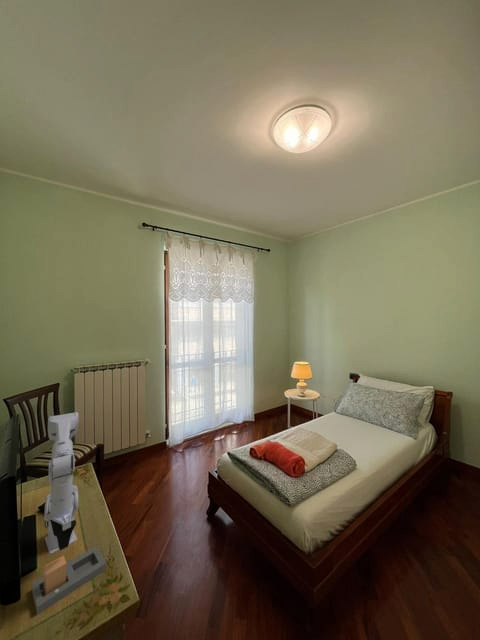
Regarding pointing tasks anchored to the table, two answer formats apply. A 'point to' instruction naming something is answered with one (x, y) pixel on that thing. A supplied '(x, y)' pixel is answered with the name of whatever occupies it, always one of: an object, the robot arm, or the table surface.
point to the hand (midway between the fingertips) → (60, 540)
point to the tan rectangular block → (54, 575)
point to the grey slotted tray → (70, 578)
